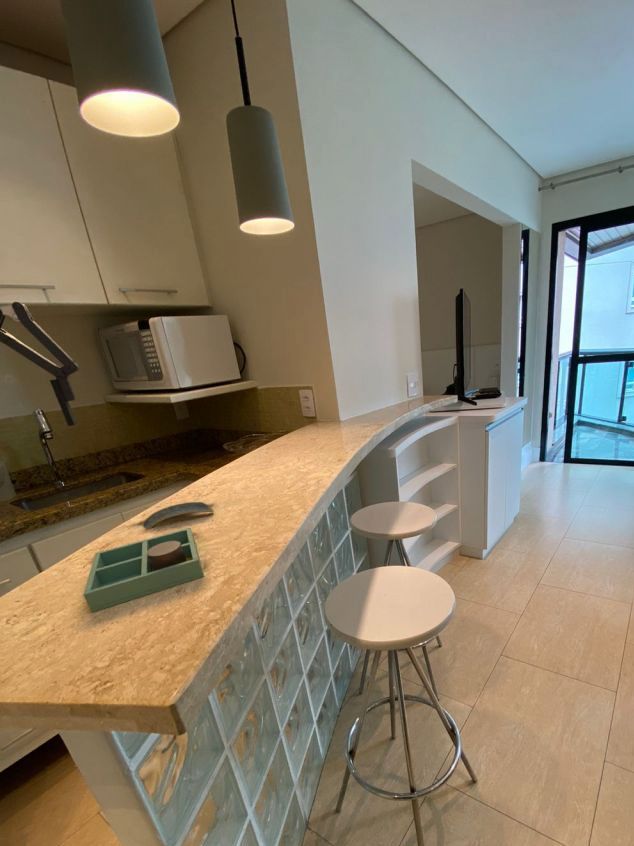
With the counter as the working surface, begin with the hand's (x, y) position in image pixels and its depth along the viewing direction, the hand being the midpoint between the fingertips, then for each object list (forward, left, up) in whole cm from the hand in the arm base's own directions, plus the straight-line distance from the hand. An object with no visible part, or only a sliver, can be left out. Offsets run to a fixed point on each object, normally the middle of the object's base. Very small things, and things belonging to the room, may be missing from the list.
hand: (17, 433), depth 58 cm
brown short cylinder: (+8, +13, -24) cm, 29 cm away
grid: (+5, +10, -25) cm, 27 cm away
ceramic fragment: (-17, +16, -25) cm, 34 cm away
